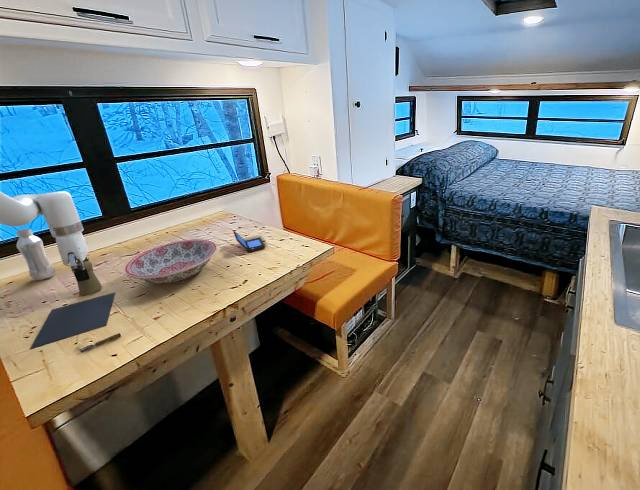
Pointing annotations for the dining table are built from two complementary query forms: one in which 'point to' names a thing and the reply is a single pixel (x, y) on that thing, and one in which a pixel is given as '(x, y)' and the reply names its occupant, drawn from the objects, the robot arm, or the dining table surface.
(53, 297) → the dining table surface
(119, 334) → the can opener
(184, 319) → the dining table surface
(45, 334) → the mat
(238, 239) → the handheld console
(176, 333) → the dining table surface
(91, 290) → the cork
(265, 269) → the dining table surface
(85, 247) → the robot arm
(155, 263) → the ceramic bowl
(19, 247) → the plastic bottle
